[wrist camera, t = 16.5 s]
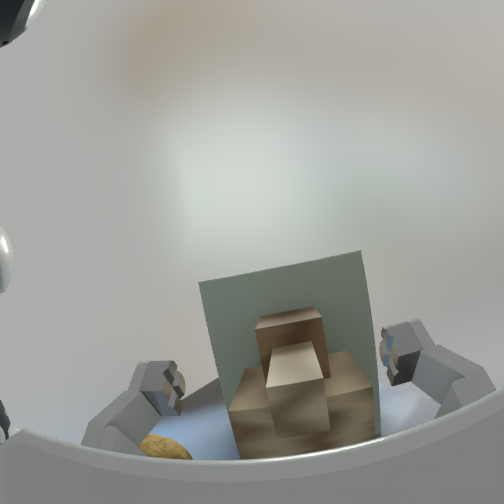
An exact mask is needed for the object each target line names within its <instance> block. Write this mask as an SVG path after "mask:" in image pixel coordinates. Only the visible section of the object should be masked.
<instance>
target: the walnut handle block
mask: <svg viewBox="0 0 504 504" xmlns="http://www.w3.org/2000/svg"><path fill="white" fill-rule="evenodd" d="M255 333H256V338H257V343H258V348H259V353H260V358H261V363H262V368H263V373H264V378H265V383H266V391H267V396H268V401H269V405H270V410H271V415H272V420H273V424H274V429H275V434H276V439H280V438H288V437H295V436H301V435H307V434H313V433H318V432H323V431H328V430H330V424H329V415H328V407H327V400H326V392H325V385H324V379H328V378H331V376H330V368H329V361H328V354H327V348H326V341H325V335H324V328H323V322H322V317H321V315H320V314H319V312H318V311H317V309H316V308H315V307H314V306H311V307H306V308H301V309H296V310H291V311H286V312H280V313H275V314H269V315H264V316H261V317H260V319H259V321H258V323H257V325H256V328H255Z"/></svg>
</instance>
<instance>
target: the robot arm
mask: <svg viewBox="0 0 504 504" xmlns="http://www.w3.org/2000/svg"><path fill="white" fill-rule="evenodd" d="M46 2H47V0H0V48H1V47H3V46H5V45H7V44H9V43H11V42H12V41H13V40H14V39H16V38H17V37H18V36H19V35H21V34H22V33H23V32H24V31H25V30H26V28H27V26H28V25H29V24H30V23H31V22H32V21H33V19H34V18H35V17H36V16H37V15H38V13H39V12H40V11H41V9H42V8H43V6H44V5H45V3H46ZM13 268H14V254H13V248H12V244H11V242H10V239H9V237H8V235H7V233H6V232H5V230H4V229H3V228H2V227H1V225H0V293H3V292H5V290H6V288H7V287H8V285H9V283H10V280H11V277H12V274H13ZM381 336H382V338H383V340H382V341H381V343H380V356H381V360H382V363H383V365H384V366H385V367H387V368H388V370H387V376H388V378H389V381H390V383H391V386H396V385H399V384H403V383H406V382H410V381H411V382H412V383H413V384H415V385H416V386H417V387H418V388H420V389H421V390H422V391H424V392H425V393H426V394H428V395H429V396H430V397H431V398H433V399H434V400H435V401H437V402H438V403H439V404H441V407H440V409H439V411H438V413H437V414H436V416H435V419H434V420H431V421H429V422H426V423H423V424H421V425H418V426H415V427H412V428H409V429H406V430H403V431H400V432H397V433H394V434H391V435H387V436H384V437H380V438H377V439H373V440H369V441H365V442H361V443H357V444H353V445H349V446H344V447H339V448H334V449H329V450H324V451H318V452H312V453H306V454H299V455H291V456H283V457H273V458H262V459H246V460H182V459H167V458H156V457H147V455H146V454H145V453H144V452H143V451H142V450H141V449H140V448H138V446H139V445H140V444H141V442H142V441H143V440H144V439H145V438H146V436H147V435H148V434H149V433H150V431H151V430H152V429H153V428H154V427H155V425H156V424H157V423H158V422H159V420H160V419H161V418H162V417H161V416H180V414H181V409H182V404H183V403H182V401H181V400H180V399H181V398H182V396H184V394H185V380H184V377H183V376H182V374H181V373H180V372H178V371H177V370H176V369H177V365H176V364H175V362H174V361H146V362H145V361H143V362H142V361H141V362H139V363H138V364H137V367H136V369H135V372H134V374H133V377H132V380H131V382H130V385H129V388H128V391H124V392H123V393H122V394H121V395H120V396H118V397H117V398H116V399H115V400H114V401H113V402H112V403H110V404H109V405H108V406H107V407H106V408H105V409H104V410H103V411H101V412H100V413H99V414H98V415H97V416H95V418H93V419H92V420H91V421H90V422H89V423H88V426H87V429H86V432H85V434H84V437H83V440H82V442H81V445H78V444H74V443H70V442H66V441H63V440H59V439H55V438H52V437H49V436H46V435H42V434H39V433H36V432H34V431H31V430H27V429H23V430H20V431H19V430H18V429H17V428H15V427H12V426H11V425H10V420H9V418H8V416H7V412H6V409H5V408H4V406H3V404H2V401H1V400H0V504H504V386H503V387H501V388H500V389H498V390H496V389H495V387H494V385H493V383H492V382H491V380H490V378H489V376H488V375H487V373H486V371H485V370H484V368H483V367H481V366H479V365H477V364H476V363H474V362H472V361H470V360H468V359H466V358H464V357H462V356H460V355H458V354H456V353H454V352H452V351H450V350H448V349H446V348H444V347H442V346H441V345H435V344H434V342H433V340H432V339H431V337H430V336H429V334H428V332H427V331H426V329H425V327H424V326H423V324H422V323H421V321H420V319H418V318H416V319H412V320H409V321H406V322H402V323H398V324H395V325H391V326H387V327H383V328H382V331H381Z"/></svg>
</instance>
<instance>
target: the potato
mask: <svg viewBox="0 0 504 504" xmlns="http://www.w3.org/2000/svg"><path fill="white" fill-rule="evenodd" d="M138 448H140V449H141V450H142V451H143V452H144V453H145V454H146V455H147V457H156V458H167V459H182V460H193V459H192V457H191V455H190V454H189V452H188V451H187V450H186V449H185V448H184V447H183V446H182V445H180V444H179V443H177V442H176V441H174V440H172V439H169V438H166V437H163V436H160V435H157V434H148V435H147V436H146V438H145V439H144V440H143V441H142V442H141V444H140V445H139V446H138Z"/></svg>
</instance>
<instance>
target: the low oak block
mask: <svg viewBox="0 0 504 504" xmlns="http://www.w3.org/2000/svg"><path fill="white" fill-rule="evenodd" d="M328 361H329V368H330V376H331V378H328V379H324V385H325V392H326V400H327V407H328V415H329V424H330V430H328V431H323V432H318V433H313V434H307V435H301V436H295V437H288V438H280V439H276V434H275V429H274V424H273V420H272V415H271V410H270V405H269V401H268V396H267V391H266V383H265V378H264V373H263V368H262V366H261V367H254V368H247V369H245V371H244V373H243V376H242V378H241V380H240V383H239V385H238V388H237V390H236V393H235V395H234V397H233V400H232V402H231V404H230V407H229V409H228V415H229V419H230V422H231V426H232V430H233V433H234V437H235V441H236V444H237V448H238V451H239V454H240V458H241V460H246V459H262V458H273V457H283V456H291V455H299V454H306V453H312V452H318V451H324V450H329V449H334V448H339V447H344V446H349V445H353V444H357V443H361V442H365V441H369V440H373V439H375V419H374V400H373V386H372V385H371V383H370V382H369V380H368V379H367V377H366V376H365V375H364V373H363V372H362V370H361V369H360V368H359V366H358V365H357V363H356V362H355V361H354V359H353V358H352V356H351V355H350V354H349V352H348V351H347V350H345V351H341V352H336V353H332V354H328Z"/></svg>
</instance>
